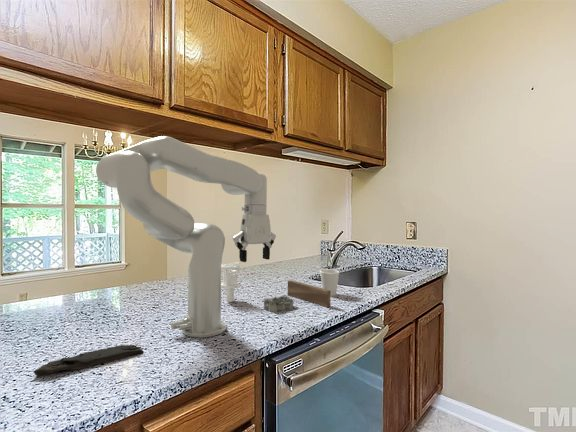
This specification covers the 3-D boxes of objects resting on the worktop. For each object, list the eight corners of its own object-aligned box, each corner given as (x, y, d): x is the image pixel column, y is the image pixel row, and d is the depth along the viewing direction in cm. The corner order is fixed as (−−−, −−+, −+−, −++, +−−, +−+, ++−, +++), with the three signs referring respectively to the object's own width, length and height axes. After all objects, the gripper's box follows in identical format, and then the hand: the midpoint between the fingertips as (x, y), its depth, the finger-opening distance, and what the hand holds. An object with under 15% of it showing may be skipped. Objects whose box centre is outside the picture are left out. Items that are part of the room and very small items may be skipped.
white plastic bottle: (235, 303, 124) (236, 264, 123) (218, 302, 125) (218, 263, 125) (241, 298, 131) (241, 261, 130) (224, 297, 132) (224, 260, 131)
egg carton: (270, 313, 113) (270, 302, 113) (260, 308, 120) (260, 297, 120) (296, 308, 119) (296, 297, 119) (285, 303, 126) (285, 293, 125)
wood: (137, 345, 87) (137, 333, 87) (146, 354, 81) (146, 342, 81) (32, 370, 73) (32, 357, 72) (33, 384, 67) (33, 369, 67)
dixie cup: (342, 293, 141) (342, 270, 141) (334, 298, 134) (335, 273, 133) (324, 290, 145) (324, 268, 145) (316, 295, 138) (316, 271, 138)
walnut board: (326, 307, 120) (326, 291, 120) (287, 295, 137) (287, 280, 137) (330, 306, 122) (330, 290, 122) (291, 294, 138) (291, 280, 138)
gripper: (239, 210, 103) (239, 264, 103) (281, 210, 114) (281, 259, 115) (227, 210, 109) (227, 261, 109) (268, 210, 120) (268, 256, 120)
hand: (254, 260), depth 112 cm, fingers open, 9 cm apart
